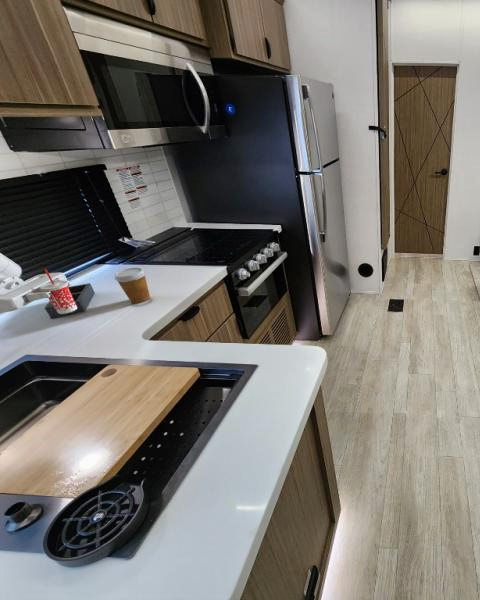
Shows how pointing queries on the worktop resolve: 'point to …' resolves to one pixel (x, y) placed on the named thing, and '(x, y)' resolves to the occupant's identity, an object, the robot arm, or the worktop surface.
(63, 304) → the beverage cup
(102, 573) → the worktop surface
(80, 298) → the box
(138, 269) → the disposable coffee cup
